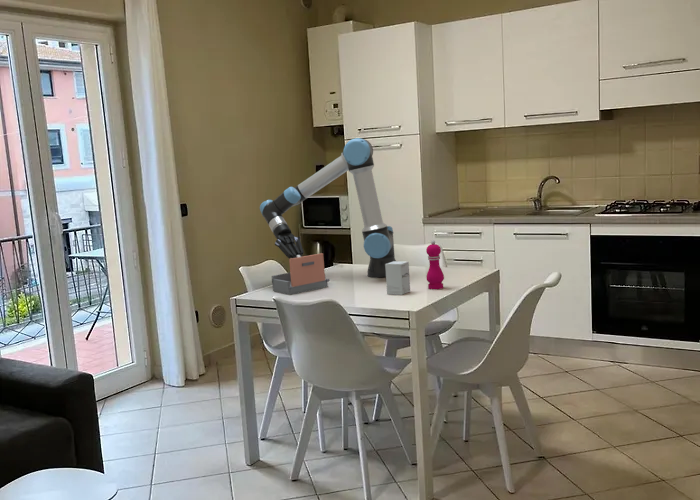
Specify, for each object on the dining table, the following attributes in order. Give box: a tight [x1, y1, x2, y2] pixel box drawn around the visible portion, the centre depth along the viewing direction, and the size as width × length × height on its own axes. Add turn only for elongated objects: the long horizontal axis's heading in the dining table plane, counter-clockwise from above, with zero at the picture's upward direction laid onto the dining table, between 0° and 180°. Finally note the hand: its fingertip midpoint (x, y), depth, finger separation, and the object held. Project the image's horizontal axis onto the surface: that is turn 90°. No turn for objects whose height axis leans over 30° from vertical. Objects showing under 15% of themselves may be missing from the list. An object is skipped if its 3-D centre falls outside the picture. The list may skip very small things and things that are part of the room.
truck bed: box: [271, 272, 330, 296], centre depth 311 cm, size 15×21×7 cm
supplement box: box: [385, 260, 411, 296], centre depth 286 cm, size 7×7×13 cm
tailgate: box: [288, 252, 326, 287], centre depth 305 cm, size 2×17×12 cm, turn 128°
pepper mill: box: [426, 239, 445, 290], centre depth 290 cm, size 7×7×20 cm
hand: (303, 267), depth 307 cm, fingers closed
